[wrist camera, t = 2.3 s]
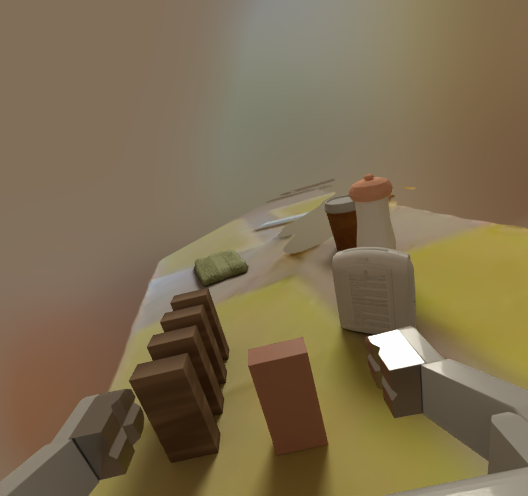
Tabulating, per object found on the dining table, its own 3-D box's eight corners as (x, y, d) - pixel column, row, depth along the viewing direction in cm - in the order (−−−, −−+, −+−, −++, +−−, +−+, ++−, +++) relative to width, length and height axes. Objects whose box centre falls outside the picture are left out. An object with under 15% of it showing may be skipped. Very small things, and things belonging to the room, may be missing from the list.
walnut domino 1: (228, 358, 41) (206, 294, 37) (195, 366, 41) (170, 303, 37) (229, 349, 43) (208, 287, 39) (198, 356, 43) (174, 295, 39)
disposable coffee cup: (332, 256, 66) (324, 207, 62) (328, 242, 75) (321, 199, 71) (373, 249, 64) (368, 199, 60) (365, 236, 73) (359, 191, 69)
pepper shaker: (353, 271, 56) (340, 177, 50) (389, 263, 56) (380, 168, 50) (368, 288, 50) (354, 181, 43) (408, 278, 49) (400, 170, 43)
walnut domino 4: (218, 452, 28) (183, 368, 24) (171, 462, 28) (128, 380, 25) (220, 433, 30) (187, 352, 26) (175, 443, 30) (137, 364, 26)
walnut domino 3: (222, 412, 32) (192, 336, 29) (181, 422, 32) (146, 347, 29) (224, 398, 34) (196, 325, 31) (185, 407, 34) (153, 335, 31)
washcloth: (235, 254, 86) (232, 244, 84) (251, 272, 69) (248, 261, 68) (193, 268, 82) (190, 258, 81) (201, 291, 66) (197, 279, 65)
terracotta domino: (328, 444, 26) (307, 352, 23) (277, 455, 26) (248, 365, 23) (322, 424, 28) (302, 337, 25) (275, 435, 28) (248, 349, 25)
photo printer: (419, 323, 38) (414, 241, 34) (416, 344, 35) (410, 255, 31) (345, 314, 44) (334, 242, 40) (337, 330, 41) (323, 255, 37)
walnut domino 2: (225, 382, 37) (200, 312, 33) (189, 391, 37) (160, 322, 33) (226, 371, 38) (202, 304, 35) (192, 379, 39) (164, 313, 35)
